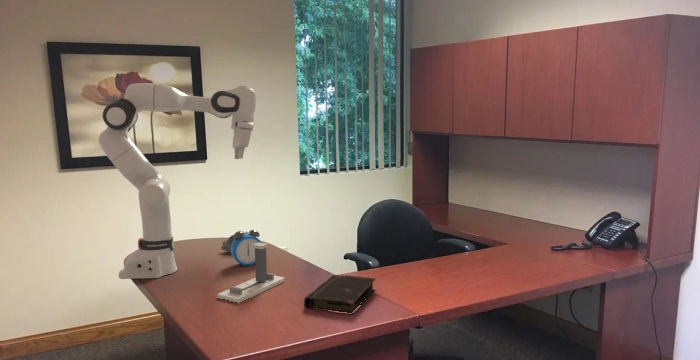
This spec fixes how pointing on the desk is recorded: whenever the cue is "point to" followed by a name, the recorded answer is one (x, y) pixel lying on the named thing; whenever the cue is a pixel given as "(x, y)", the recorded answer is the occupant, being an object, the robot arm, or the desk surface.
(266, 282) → the console
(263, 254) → the fader tab
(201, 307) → the desk surface
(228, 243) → the mineral rock
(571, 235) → the desk surface
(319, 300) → the diary
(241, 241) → the alarm clock
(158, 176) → the robot arm
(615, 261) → the desk surface
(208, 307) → the desk surface
